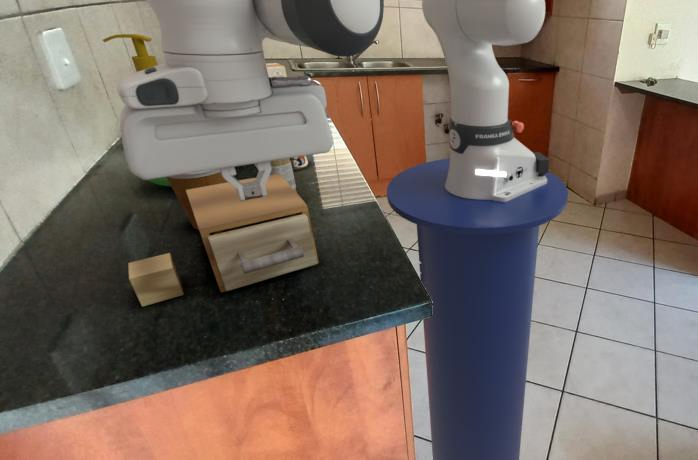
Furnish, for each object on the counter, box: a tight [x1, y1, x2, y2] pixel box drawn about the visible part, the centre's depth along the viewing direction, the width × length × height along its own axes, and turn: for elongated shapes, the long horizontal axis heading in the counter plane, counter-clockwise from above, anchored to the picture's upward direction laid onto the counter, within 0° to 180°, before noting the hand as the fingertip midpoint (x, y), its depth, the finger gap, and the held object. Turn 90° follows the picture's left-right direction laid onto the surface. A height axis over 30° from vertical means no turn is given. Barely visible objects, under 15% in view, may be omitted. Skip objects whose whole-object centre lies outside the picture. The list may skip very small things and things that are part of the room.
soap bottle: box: [102, 33, 159, 72], centre depth 100 cm, size 11×12×26 cm
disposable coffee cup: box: [167, 169, 228, 231], centre depth 72 cm, size 10×10×12 cm
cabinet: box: [186, 173, 319, 293], centre depth 64 cm, size 15×13×10 cm
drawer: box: [208, 213, 318, 292], centre depth 61 cm, size 18×12×8 cm, turn 39°
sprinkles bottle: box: [270, 158, 298, 194], centre depth 79 cm, size 5×5×14 cm
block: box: [127, 252, 185, 308], centre depth 56 cm, size 4×4×4 cm
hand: (253, 197), depth 52 cm, fingers closed
